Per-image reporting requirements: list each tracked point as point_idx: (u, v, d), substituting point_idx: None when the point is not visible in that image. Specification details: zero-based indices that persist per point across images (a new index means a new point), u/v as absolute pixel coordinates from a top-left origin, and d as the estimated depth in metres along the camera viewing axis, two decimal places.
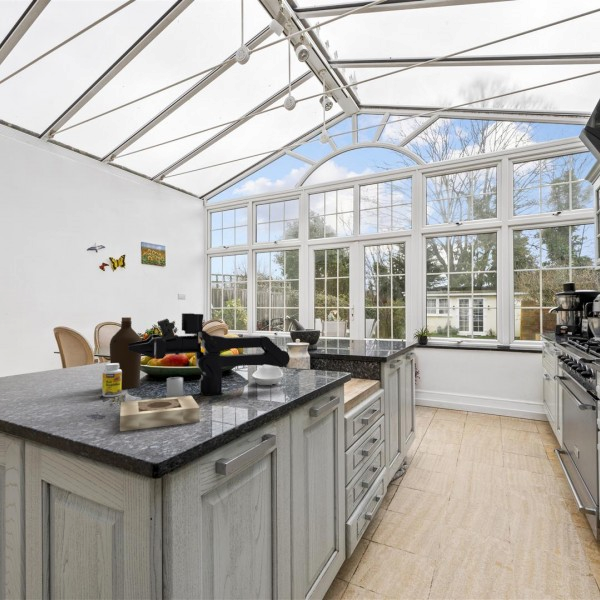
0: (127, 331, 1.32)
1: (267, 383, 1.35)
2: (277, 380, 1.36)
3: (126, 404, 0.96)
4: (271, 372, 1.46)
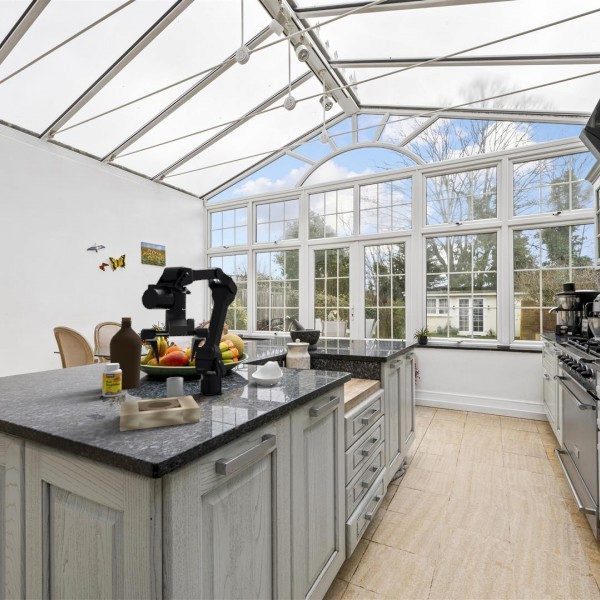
0: (127, 331, 1.32)
1: (266, 383, 1.35)
2: (276, 380, 1.36)
3: (126, 404, 0.96)
4: (272, 372, 1.46)
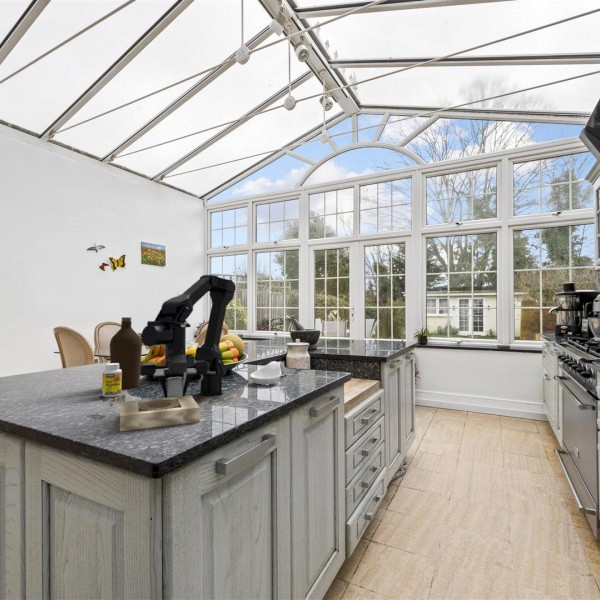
0: (127, 331, 1.33)
1: (261, 383, 1.36)
2: (271, 380, 1.36)
3: (126, 404, 0.96)
4: (273, 372, 1.46)
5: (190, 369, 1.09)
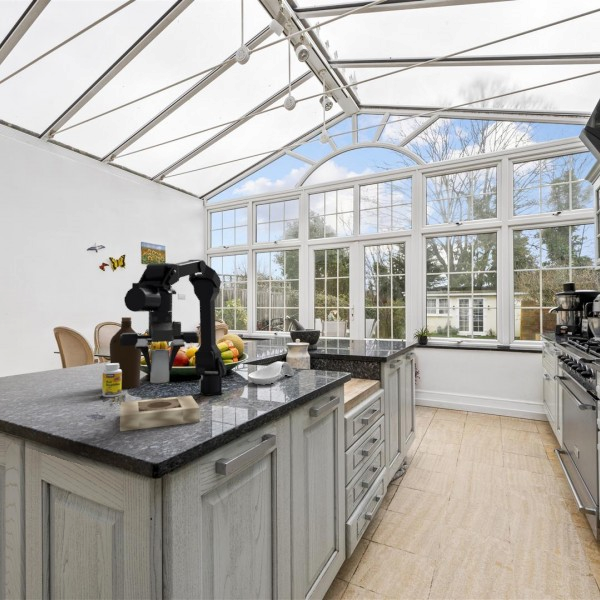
0: (127, 331, 1.32)
1: (257, 382, 1.37)
2: (266, 380, 1.36)
3: (126, 404, 0.96)
4: (274, 372, 1.46)
5: (177, 340, 0.97)
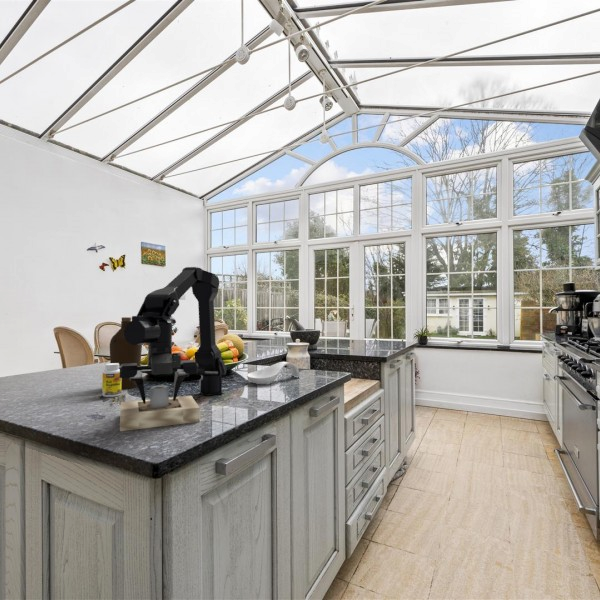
0: None
1: (253, 381, 1.38)
2: (261, 380, 1.36)
3: (126, 404, 0.96)
4: (275, 372, 1.45)
5: (181, 370, 0.98)
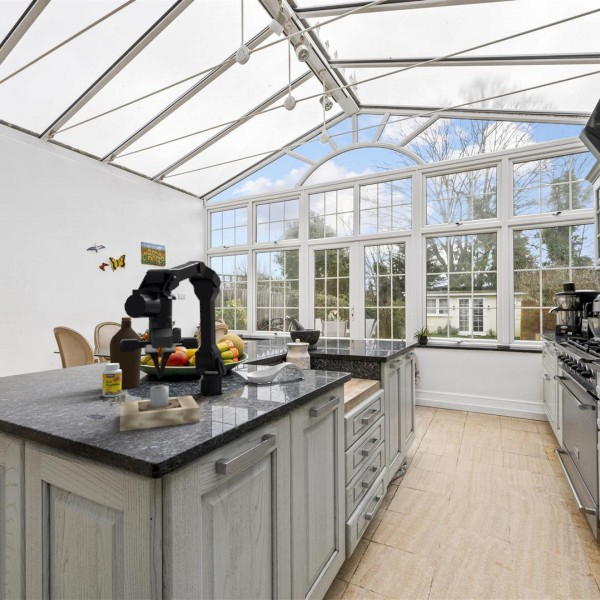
0: (127, 331, 1.32)
1: (250, 380, 1.40)
2: (256, 379, 1.38)
3: (126, 404, 0.96)
4: None
5: None
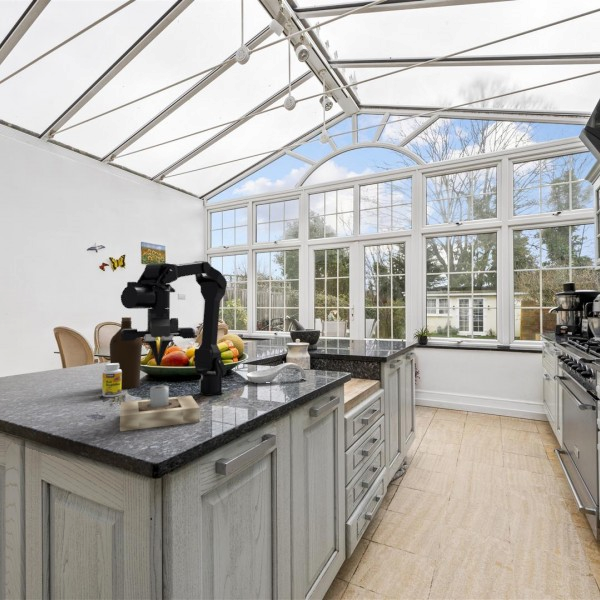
0: None
1: None
2: (253, 379, 1.38)
3: (126, 404, 0.96)
4: None
5: None
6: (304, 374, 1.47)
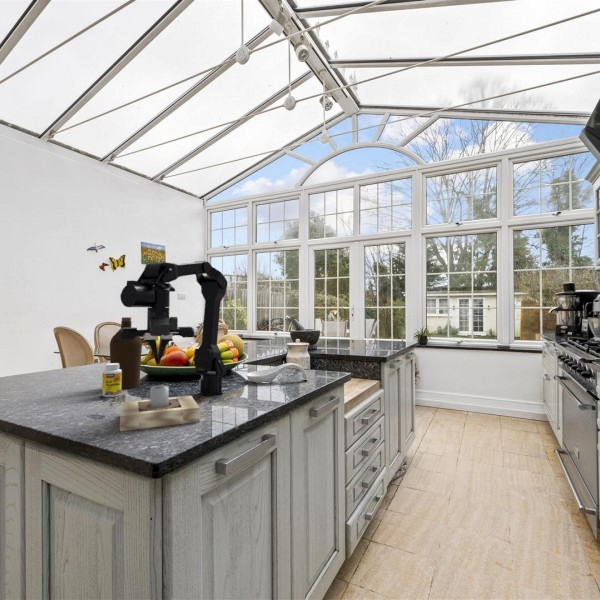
0: None
1: (249, 379, 1.43)
2: (252, 378, 1.39)
3: (126, 404, 0.96)
4: None
5: None
6: (305, 375, 1.45)
